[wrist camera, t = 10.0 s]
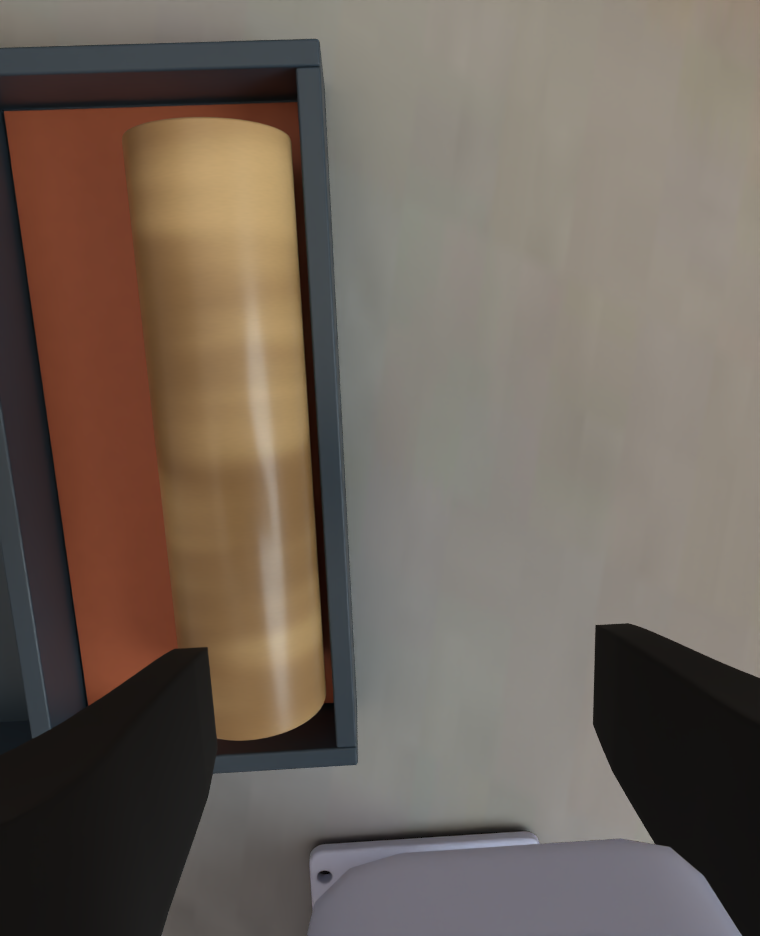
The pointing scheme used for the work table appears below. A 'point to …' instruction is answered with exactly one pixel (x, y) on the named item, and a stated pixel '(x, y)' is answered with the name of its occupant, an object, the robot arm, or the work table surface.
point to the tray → (134, 379)
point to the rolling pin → (231, 410)
